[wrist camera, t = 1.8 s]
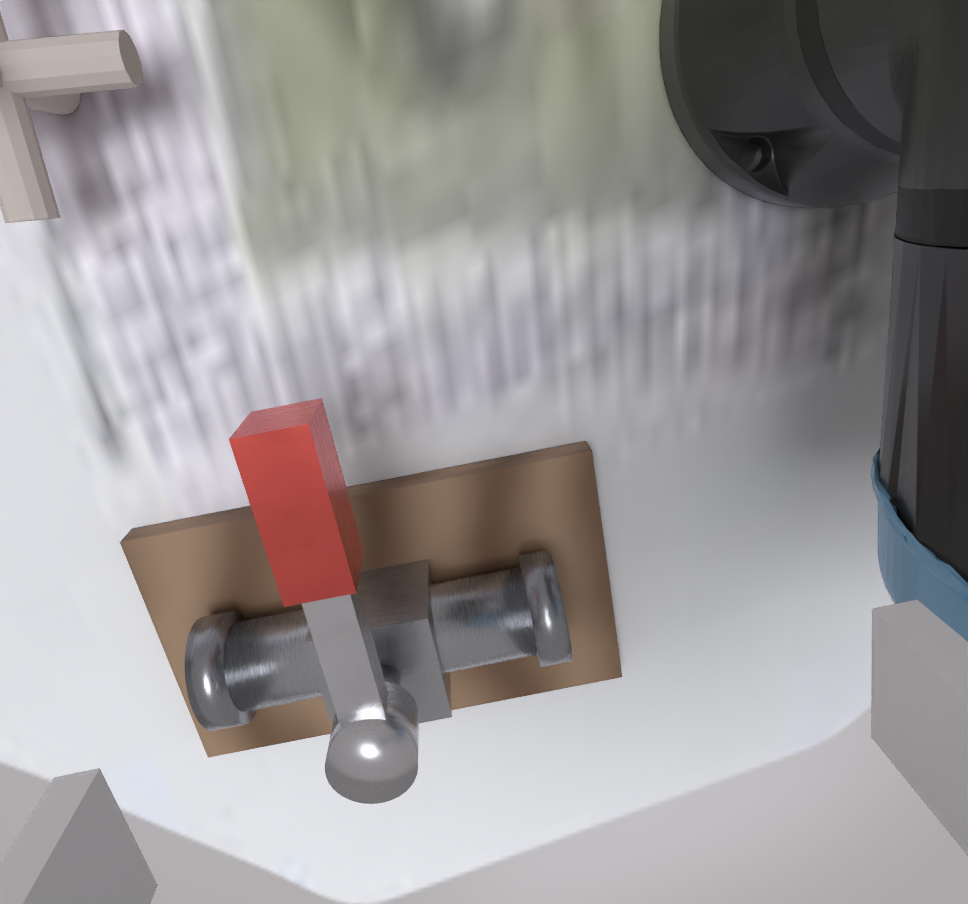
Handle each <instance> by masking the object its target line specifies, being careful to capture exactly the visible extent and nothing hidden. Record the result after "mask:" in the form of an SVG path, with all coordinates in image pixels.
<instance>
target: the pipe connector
mask: <svg viewBox="0 0 968 904" xmlns="http://www.w3.org/2000/svg"><path fill="white" fill-rule="evenodd" d="M142 78H143V75H142V69H141V63H140V59H139V56H138V53H137V50H136V48H135V46H134V44H133V42H132V40H131V38H130V36H129V35H128V34H127V33H126V32H125V31H124V30H117V31H106V32H96V33H85V34H75V35H64V36H54V37H43V38H33V39H22V40H12V41H9V40H8V37H7V33H6V30H5V27H4V23H3V20H2V16H1V13H0V207H1V210H2V213H3V217H4V220H5V223H10V222H22V221H32V220H42V219H52V218H60V214H59V211H58V207H57V204H56V201H55V197H54V194H53V190H52V187H51V184H50V180H49V177H48V173H47V170H46V166H45V163H44V160H43V156H42V153H41V149H40V146H39V143H38V139H37V136H36V132H35V129H34V126H33V122H32V119H31V115H30V112H29V109H33V110H38V111H43V112H48V113H53V114H58V115H66V114H70V113H72V112H73V111H75V110H76V108H77V107H78V105H79V103H80V98H81V94H80V93H85V92H95V91H106V90H116V89H126V88H136V87H139V86H141V85H142Z"/></svg>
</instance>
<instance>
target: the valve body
mask: <svg viewBox="0 0 968 904" xmlns="http://www.w3.org/2000/svg"><path fill="white" fill-rule="evenodd" d="M518 561H519V566H520V567H519V568H514V569H509V570H504V571H498V572H493V573H488V574H483V575H478V576H473V577H467V578H462V579H457V580H452V581H447V582H442V583H436V584H434V581H433V576H432V572H431V568H430V564H429V559H424V560H419V561H414V562H409V563H404V564H399V565H393V566H388V567H383V568H378V569H373V570H368V571H362V572H360V576H359V581H358V586H359V590H360V593H361V597H362V600H363V604H364V608H365V611H366V615H367V618H368V622H369V625H370V629H371V632H372V636H373V640H374V643H375V647H376V650H377V654H378V657H379V661H380V664H381V668H382V672H383V675H384V679H385V681H386V682H390V683H394V684H396V685H399V686H401V687H402V688H404V689H405V690H407V691H408V692H409V693H410V694H411V695H412V696H413V698H414V699H415V701H416V703H417V706H418V710H419V723H423V722H428V721H433V720H438V719H444V718H449V717H452V706H451V680H450V672H453V671H458V670H463V669H468V668H474V667H479V666H484V665H489V664H494V663H499V662H504V661H510V660H515V659H520V658H525V657H530V656H535V655H537V657H538V662H539V666H540V667H545V666H550V665H555V664H561V663H566V662H571V661H572V659H573V658H572V647H571V641H570V634H569V629H568V623H567V618H566V613H565V608H564V603H563V598H562V594H561V589H560V585H559V581H558V577H557V573H556V569H555V565H554V562H553V558H552V555H551V553H550V550H544V551H539V552H534V553H529V554H524V555H518ZM185 682H186V688H187V693H188V698H189V701H190V705H191V708H192V710H193V713H194V715H195V717H196V718H197V720H198V722H199V723H200V724H201V725H202V726H203V727H204V728H205V729H207V730H209V731H216V730H221V729H226V728H231V727H236V726H241V725H246V724H249V723H250V722H251V721H252V720H253V718H254V717H255V715H256V712H257V709H262V708H268V707H273V706H278V705H283V704H288V703H293V702H298V701H304V700H309V699H314V698H319V697H323V700H324V703H325V706H326V709H327V712H328V715H329V718H330V721H331V724H332V725H333V719H334V714H335V708H334V704H333V701H332V698H331V695H330V692H329V689H328V686H327V682H326V679H325V676H324V673H323V670H322V667H321V663H320V660H319V657H318V654H317V651H316V648H315V645H314V641H313V638H312V635H311V632H310V629H309V626H308V622H307V619H306V616H305V613H304V610H303V609H302V610H297V611H292V612H287V613H282V614H277V615H271V616H266V617H261V618H256V619H251V620H246V621H244V618H243V615H242V613H241V612H239V611H230V612H224V613H219V614H214V615H209V616H204V617H200V618H199V619H197V620H196V622H195V623H194V624H193V626H192V628H191V630H190V632H189V635H188V639H187V643H186V649H185Z"/></svg>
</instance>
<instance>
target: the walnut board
mask: <svg viewBox="0 0 968 904" xmlns="http://www.w3.org/2000/svg"><path fill="white" fill-rule="evenodd" d="M346 488H347V492H348V496H349V499H350V503H351V507H352V510H353V514H354V518H355V521H356V525H357V529H358V533H359V536H360V540H361V544H362V547H363V551H364V555H363V560H362V565H361V571H360V572H362V571H368V570H373V569H378V568H383V567H388V566H393V565H399V564H404V563H409V562H414V561H419V560H424V559H429V564H430V568H431V572H432V576H433V581H434V584H436V583H442V582H447V581H452V580H457V579H462V578H467V577H473V576H478V575H483V574H488V573H493V572H498V571H504V570H509V569H514V568H519V567H520V566H519V561H518V555H524V554H529V553H534V552H539V551H544V550H550V553H551V555H552V558H553V562H554V565H555V569H556V573H557V577H558V581H559V585H560V589H561V594H562V598H563V603H564V608H565V613H566V618H567V623H568V629H569V634H570V641H571V647H572V658H573V659H572V661H571V662H566V663H561V664H555V665H550V666H545V667H540V666H539V662H538V657H537V655H535V656H530V657H525V658H520V659H515V660H510V661H504V662H499V663H494V664H489V665H484V666H479V667H474V668H468V669H463V670H458V671H453V672H450V680H451V706H452V710H455V709H460V708H465V707H470V706H475V705H480V704H485V703H491V702H496V701H501V700H506V699H511V698H516V697H521V696H527V695H532V694H537V693H542V692H547V691H552V690H557V689H563V688H568V687H573V686H578V685H583V684H588V683H593V682H599V681H604V680H609V679H614V678H619V677H622V673H621V665H620V658H619V650H618V643H617V635H616V628H615V620H614V613H613V605H612V598H611V590H610V583H609V576H608V568H607V561H606V553H605V546H604V538H603V531H602V523H601V516H600V508H599V501H598V493H597V486H596V479H595V471H594V464H593V456H592V450H591V449H590V447H589V446H588V444H587V442H586V441H584V442H578V443H573V444H568V445H563V446H558V447H553V448H547V449H542V450H537V451H532V452H527V453H522V454H516V455H511V456H506V457H501V458H496V459H491V460H485V461H480V462H475V463H470V464H465V465H459V466H454V467H449V468H444V469H439V470H434V471H428V472H423V473H418V474H413V475H408V476H403V477H397V478H392V479H387V480H382V481H377V482H372V483H366V484H361V485H356V486H351V487H346ZM120 543H121V546H122V548H123V551H124V553H125V556H126V558H127V561H128V563H129V565H130V568H131V570H132V573H133V575H134V578H135V580H136V583H137V585H138V587H139V590H140V592H141V595H142V597H143V600H144V602H145V605H146V607H147V609H148V612H149V614H150V617H151V619H152V622H153V624H154V627H155V629H156V631H157V634H158V636H159V639H160V641H161V644H162V646H163V648H164V651H165V653H166V656H167V658H168V661H169V663H170V666H171V668H172V670H173V673H174V675H175V678H176V680H177V683H178V685H179V688H180V690H181V692H182V695H183V697H184V700H185V702H186V705H187V707H188V710H189V712H190V714H191V717H192V719H193V722H194V724H195V727H196V729H197V731H198V734H199V736H200V739H201V741H202V744H203V746H204V749H205V751H206V753H207V756H208V757H213V756H218V755H223V754H228V753H233V752H238V751H244V750H249V749H254V748H259V747H264V746H269V745H274V744H280V743H285V742H290V741H295V740H300V739H305V738H310V737H316V736H321V735H326V734H331V730H332V724H331V721H330V718H329V715H328V712H327V709H326V706H325V703H324V700H323V697H319V698H314V699H309V700H304V701H298V702H293V703H288V704H283V705H278V706H273V707H268V708H262V709H257V712H256V715H255V717H254V718H253V720H252V721H251V722H250V723H249V724H246V725H241V726H236V727H231V728H226V729H221V730H216V731H209V730H207V729H205V728H204V727H203V726H202V725H201V724H200V723H199V722H198V720H197V718H196V717H195V715H194V713H193V710H192V708H191V705H190V701H189V698H188V693H187V688H186V682H185V649H186V643H187V639H188V635H189V632H190V630H191V628H192V626H193V624H194V623H195V622H196V620H197V619H199V618H200V617H204V616H209V615H214V614H219V613H224V612H230V611H239V612H241V613H242V615H243V618H244V621H246V620H251V619H256V618H261V617H266V616H271V615H277V614H282V613H287V612H292V611H297V610H302V609H303V607H302V604H297V605H292V606H287V607H284V606H283V603H282V600H281V597H280V594H279V590H278V587H277V584H276V581H275V578H274V575H273V572H272V569H271V566H270V563H269V560H268V557H267V554H266V551H265V548H264V545H263V542H262V539H261V536H260V533H259V530H258V527H257V523H256V520H255V517H254V514H253V511H252V508H251V506H248V507H242V508H237V509H232V510H227V511H222V512H217V513H211V514H206V515H201V516H196V517H191V518H186V519H180V520H175V521H170V522H165V523H160V524H155V525H149V526H144V527H139V528H134V529H131V530H130V532H129V533H128V534H127V535H126V536H125V537H124V538H123V539H122V541H121V542H120Z"/></svg>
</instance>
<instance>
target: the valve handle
mask: <svg viewBox="0 0 968 904" xmlns="http://www.w3.org/2000/svg"><path fill="white" fill-rule="evenodd" d="M229 441H230V444H231V447H232V450H233V453H234V456H235V460H236V463H237V466H238V469H239V472H240V475H241V478H242V481H243V484H244V487H245V490H246V493H247V496H248V499H249V502H250V505H251V508H252V511H253V514H254V517H255V520H256V523H257V527H258V530H259V533H260V536H261V539H262V542H263V545H264V548H265V551H266V554H267V557H268V560H269V563H270V566H271V569H272V572H273V575H274V578H275V581H276V584H277V587H278V590H279V594H280V597H281V600H282V603H283V606H284V607H287V606H292V605H297V604H302V607H303V610H304V613H305V616H306V619H307V622H308V626H309V629H310V632H311V635H312V638H313V641H314V645H315V648H316V651H317V654H318V657H319V660H320V663H321V667H322V670H323V673H324V676H325V679H326V682H327V686H328V689H329V692H330V695H331V698H332V701H333V704H334V708H335V714H334V719H333V725H332V730H331V735H330V741H329V746H328V752H327V757H326V762H325V773H326V777H327V780H328V782H329V783H330V785H331V786H332V788H333V789H334V790H335V791H336V792H337V793H339V794H340V795H342V796H343V797H345V798H347V799H349V800H352V801H355V802H359V803H367V804H374V803H382V802H386V801H390V800H392V799H395V798H397V797H399V796H400V795H402V794H403V793H404V792H406V791H407V790H408V789H409V788H410V787H411V785H412V784H413V782H414V780H415V778H416V775H417V770H418V734H419V710H418V706H417V703H416V701H415V699H414V698H413V696H412V695H411V694H410V693H409V692H408V691H407V690H405V689H404V688H402V687H401V686H399V685H396V684H394V683H390V682H386V681H385V679H384V675H383V672H382V668H381V664H380V661H379V657H378V654H377V650H376V647H375V643H374V640H373V636H372V632H371V629H370V625H369V622H368V618H367V615H366V611H365V608H364V604H363V600H362V597H361V593H360V590H359V586H358V581H359V576H360V571H361V565H362V560H363V555H364V551H363V547H362V544H361V540H360V536H359V533H358V529H357V525H356V521H355V518H354V514H353V510H352V507H351V503H350V499H349V496H348V492H347V488H346V485H345V481H344V477H343V474H342V470H341V466H340V463H339V459H338V455H337V452H336V448H335V444H334V441H333V437H332V433H331V430H330V426H329V422H328V419H327V415H326V411H325V408H324V404H323V400H322V398H321V399H316V400H310V401H305V402H300V403H295V404H290V405H284V406H279V407H274V408H269V409H264V410H259V411H253V412H251V413H250V414H249V415H248V416H247V418H246V419H245V420H244V421H243V423H242V424H241V425H240V426H239V427H238V429H237V430H236V431H235V432H234V434H233V435H232V436H231V437H230V438H229Z"/></svg>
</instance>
